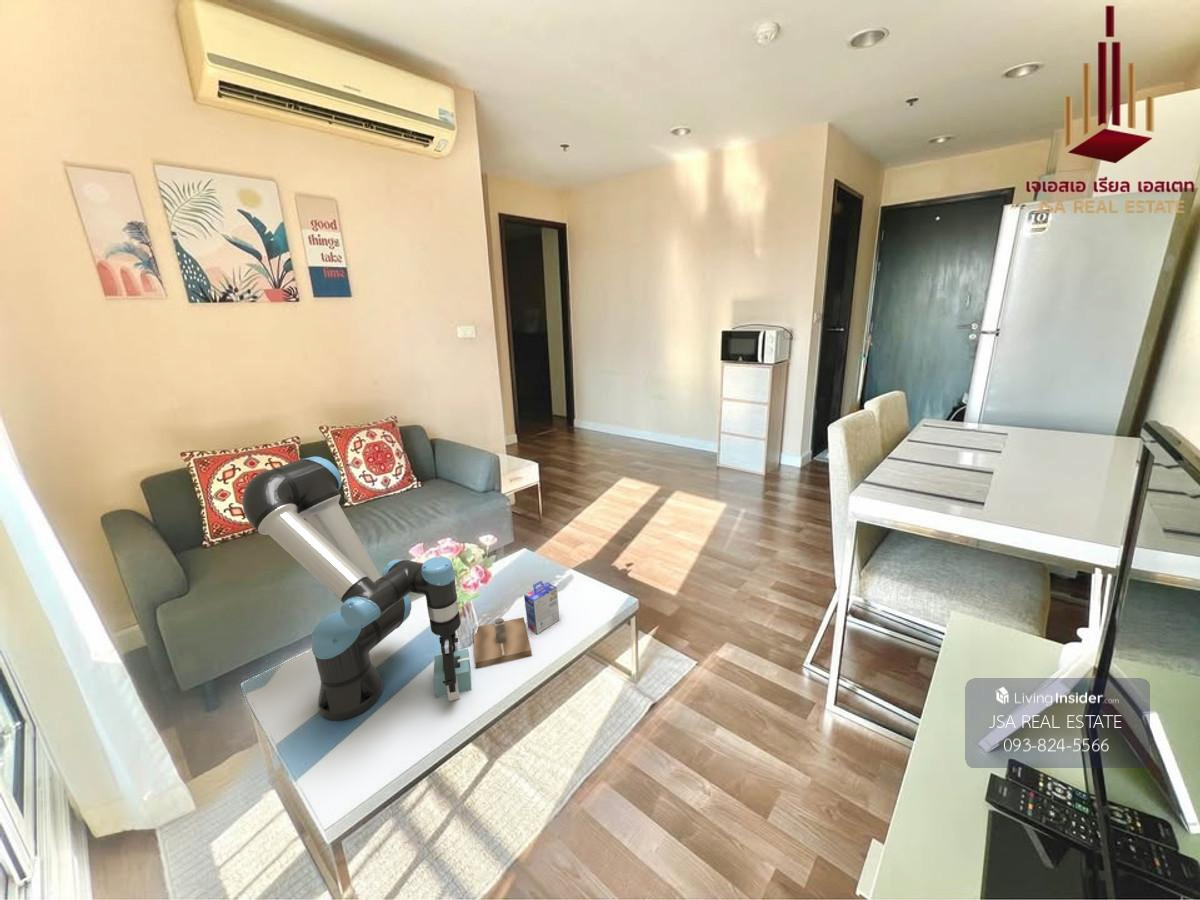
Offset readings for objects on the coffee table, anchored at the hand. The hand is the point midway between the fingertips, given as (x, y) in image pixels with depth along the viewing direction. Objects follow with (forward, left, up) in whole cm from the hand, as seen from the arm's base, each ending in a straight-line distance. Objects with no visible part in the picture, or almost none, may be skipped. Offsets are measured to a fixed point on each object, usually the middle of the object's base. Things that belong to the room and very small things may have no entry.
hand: (454, 680), depth 127 cm
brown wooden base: (+14, +11, 0) cm, 18 cm away
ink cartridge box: (+28, +17, 0) cm, 32 cm away
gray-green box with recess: (0, 0, 0) cm, 0 cm away
